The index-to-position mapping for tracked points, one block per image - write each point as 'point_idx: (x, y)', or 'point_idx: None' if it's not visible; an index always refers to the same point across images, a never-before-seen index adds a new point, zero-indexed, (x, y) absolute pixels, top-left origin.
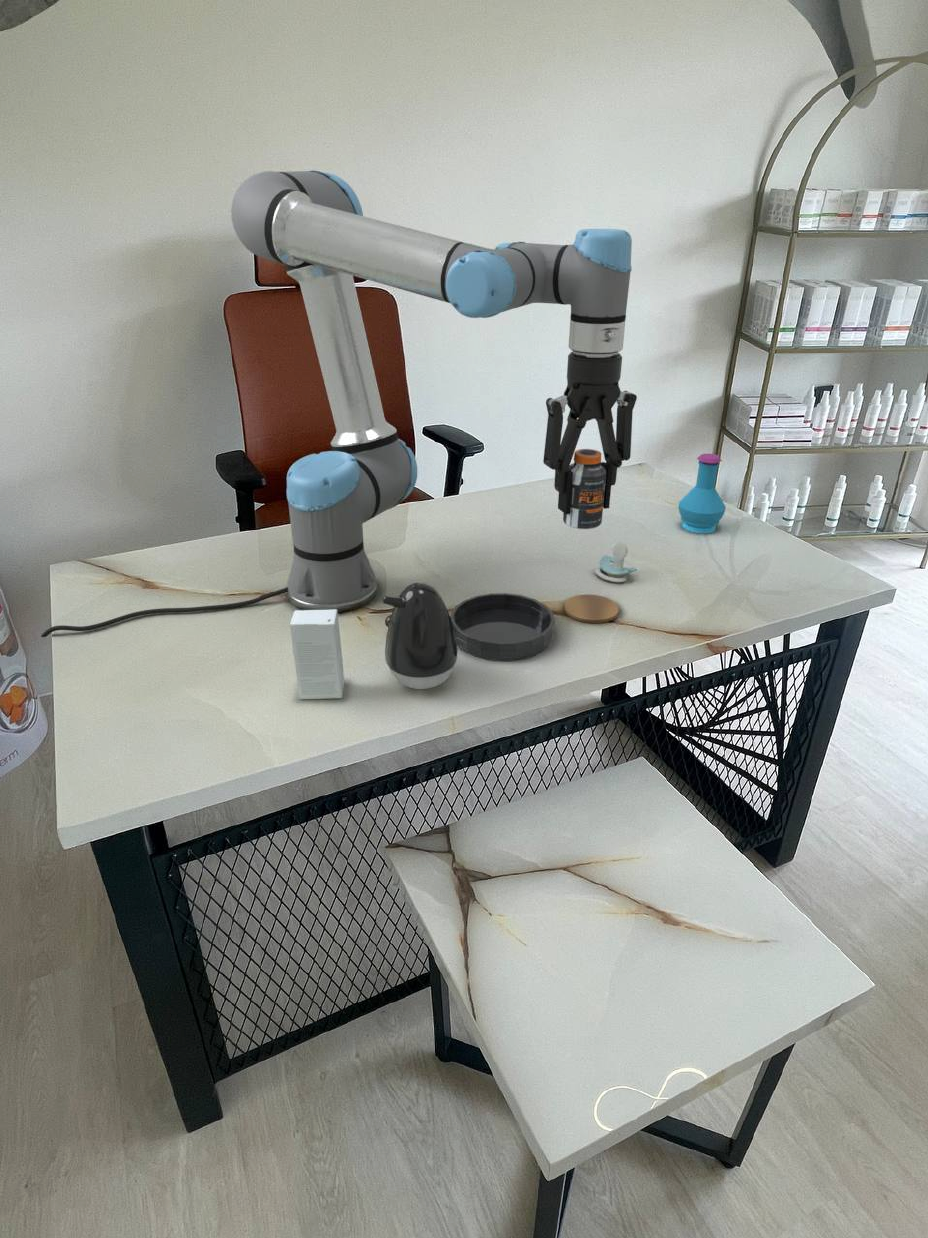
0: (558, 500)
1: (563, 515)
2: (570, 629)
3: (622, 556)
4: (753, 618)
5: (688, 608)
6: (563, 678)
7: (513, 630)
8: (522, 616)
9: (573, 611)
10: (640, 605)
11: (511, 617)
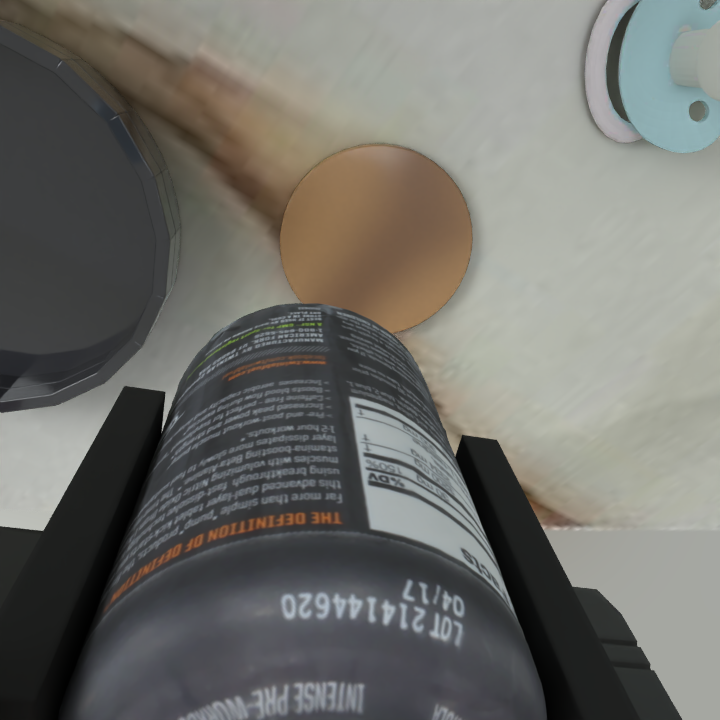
0: (105, 423)
1: (185, 374)
2: (232, 310)
3: (711, 89)
4: (715, 500)
5: (635, 384)
6: None
7: (33, 237)
8: (112, 167)
9: (299, 241)
10: (536, 300)
11: (68, 151)
